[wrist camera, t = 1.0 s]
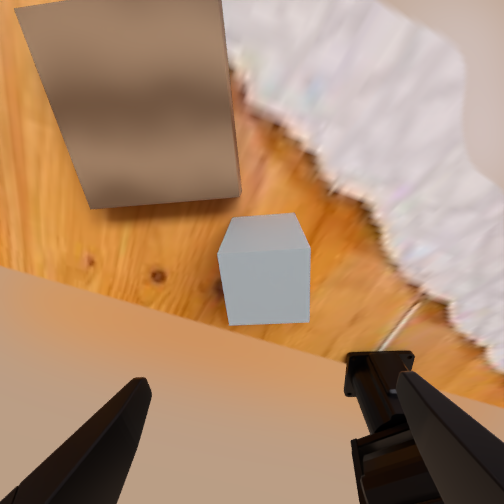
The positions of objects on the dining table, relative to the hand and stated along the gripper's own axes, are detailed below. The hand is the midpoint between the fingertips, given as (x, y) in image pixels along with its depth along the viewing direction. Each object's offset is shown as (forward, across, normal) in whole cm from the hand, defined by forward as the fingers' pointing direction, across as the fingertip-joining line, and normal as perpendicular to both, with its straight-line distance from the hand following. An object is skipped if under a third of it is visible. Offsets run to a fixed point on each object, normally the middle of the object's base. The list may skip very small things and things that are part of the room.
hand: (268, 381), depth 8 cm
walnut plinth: (+13, +7, -10) cm, 18 cm away
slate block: (+13, 0, 0) cm, 13 cm away
